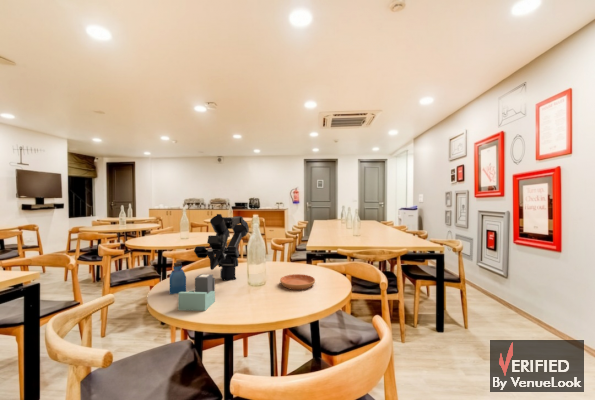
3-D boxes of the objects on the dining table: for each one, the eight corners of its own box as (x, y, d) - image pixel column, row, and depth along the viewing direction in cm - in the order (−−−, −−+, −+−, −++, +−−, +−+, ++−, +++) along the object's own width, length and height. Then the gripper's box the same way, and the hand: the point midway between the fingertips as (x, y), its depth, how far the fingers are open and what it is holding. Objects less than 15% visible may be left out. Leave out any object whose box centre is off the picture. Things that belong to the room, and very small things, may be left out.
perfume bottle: (169, 294, 107) (169, 265, 107) (169, 290, 113) (169, 262, 113) (186, 292, 110) (186, 263, 110) (185, 287, 115) (184, 260, 115)
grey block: (200, 295, 104) (200, 273, 105) (214, 296, 104) (214, 273, 104) (193, 301, 99) (193, 277, 99) (208, 301, 98) (208, 277, 98)
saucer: (321, 288, 114) (321, 281, 114) (287, 293, 108) (286, 286, 108) (306, 278, 129) (306, 272, 129) (275, 282, 123) (275, 276, 123)
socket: (190, 300, 100) (190, 285, 100) (214, 301, 99) (214, 285, 99) (178, 310, 91) (178, 293, 91) (205, 310, 91) (205, 293, 91)
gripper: (195, 228, 114) (183, 258, 103) (237, 228, 113) (228, 259, 102) (203, 242, 122) (192, 272, 111) (242, 243, 121) (235, 273, 110)
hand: (211, 269), depth 108 cm, fingers closed
